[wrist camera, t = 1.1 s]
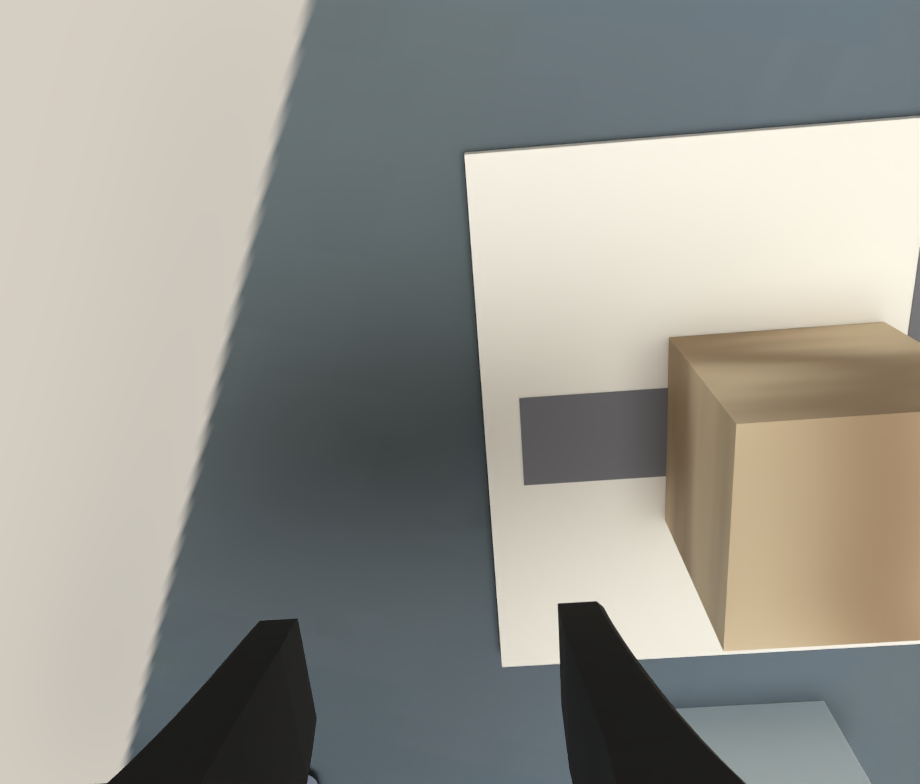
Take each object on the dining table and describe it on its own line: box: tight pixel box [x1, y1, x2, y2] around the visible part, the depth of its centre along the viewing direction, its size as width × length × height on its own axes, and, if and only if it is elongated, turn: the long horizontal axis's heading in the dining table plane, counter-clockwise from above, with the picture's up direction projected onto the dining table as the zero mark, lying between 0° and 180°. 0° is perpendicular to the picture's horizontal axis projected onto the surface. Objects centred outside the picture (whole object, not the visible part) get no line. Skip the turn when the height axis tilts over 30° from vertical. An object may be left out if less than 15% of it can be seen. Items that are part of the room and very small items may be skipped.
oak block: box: [665, 322, 920, 651], centre depth 17 cm, size 5×5×5 cm
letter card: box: [464, 115, 920, 667], centre depth 20 cm, size 14×14×1 cm
